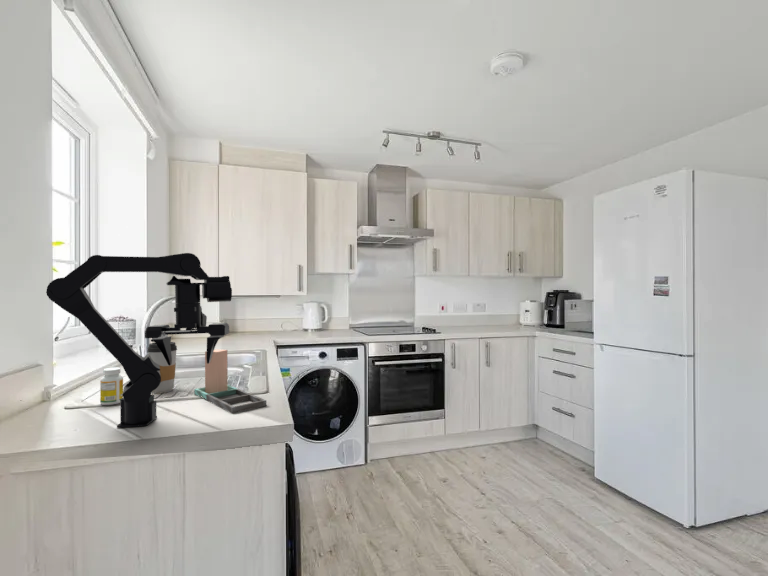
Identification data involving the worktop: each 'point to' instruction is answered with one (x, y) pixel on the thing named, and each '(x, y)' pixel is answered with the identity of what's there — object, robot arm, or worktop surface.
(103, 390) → the supplement bottle
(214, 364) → the slim block
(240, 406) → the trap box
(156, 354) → the coffee cup
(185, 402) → the worktop surface
